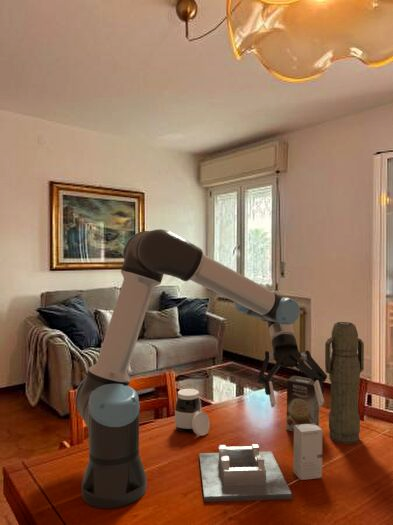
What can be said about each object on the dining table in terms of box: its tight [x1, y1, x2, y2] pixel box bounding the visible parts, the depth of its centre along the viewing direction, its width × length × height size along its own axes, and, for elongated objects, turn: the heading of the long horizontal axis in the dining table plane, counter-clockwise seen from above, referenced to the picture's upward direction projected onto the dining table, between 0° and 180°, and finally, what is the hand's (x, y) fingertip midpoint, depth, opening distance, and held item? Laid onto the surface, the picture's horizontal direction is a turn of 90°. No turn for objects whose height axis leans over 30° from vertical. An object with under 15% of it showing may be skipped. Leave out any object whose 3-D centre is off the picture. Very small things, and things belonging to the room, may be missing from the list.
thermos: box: [324, 321, 365, 445], centre depth 123 cm, size 9×12×35 cm
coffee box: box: [285, 375, 320, 432], centre depth 128 cm, size 9×6×16 cm
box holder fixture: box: [198, 443, 293, 503], centre depth 101 cm, size 20×20×6 cm
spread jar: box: [174, 388, 211, 437], centre depth 129 cm, size 12×11×12 cm
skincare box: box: [292, 424, 323, 481], centre depth 102 cm, size 6×4×12 cm
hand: (297, 404), depth 112 cm, fingers open, 13 cm apart
